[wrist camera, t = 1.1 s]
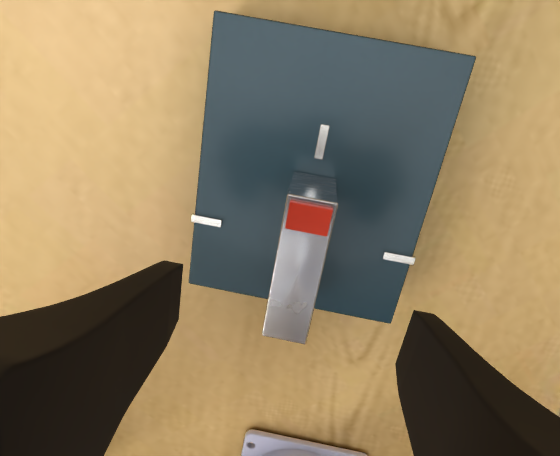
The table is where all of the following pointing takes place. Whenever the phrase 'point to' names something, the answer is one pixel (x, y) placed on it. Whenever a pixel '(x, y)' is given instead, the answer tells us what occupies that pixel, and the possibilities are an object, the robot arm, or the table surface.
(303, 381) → the table surface
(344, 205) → the tap console
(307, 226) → the tap handle
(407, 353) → the robot arm
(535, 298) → the table surface
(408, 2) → the table surface
